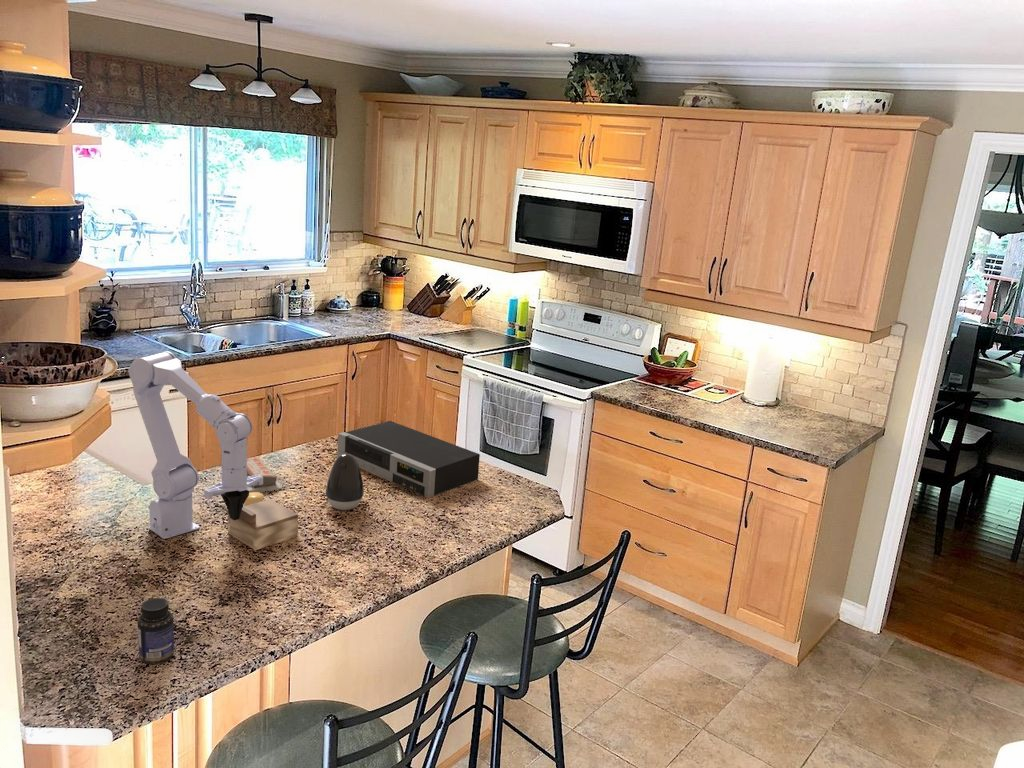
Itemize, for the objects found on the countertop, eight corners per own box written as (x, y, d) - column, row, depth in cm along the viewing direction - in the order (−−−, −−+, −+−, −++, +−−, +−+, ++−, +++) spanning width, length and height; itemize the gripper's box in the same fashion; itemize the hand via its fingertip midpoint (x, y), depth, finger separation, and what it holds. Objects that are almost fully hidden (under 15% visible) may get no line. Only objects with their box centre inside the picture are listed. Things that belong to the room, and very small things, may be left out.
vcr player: (478, 480, 255) (480, 454, 252) (420, 502, 236) (421, 473, 234) (388, 445, 278) (389, 420, 276) (329, 461, 259) (329, 435, 257)
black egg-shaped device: (321, 513, 223) (323, 460, 218) (328, 497, 233) (330, 446, 228) (360, 515, 223) (362, 462, 219) (365, 500, 233) (367, 449, 229)
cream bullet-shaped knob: (250, 519, 216) (250, 501, 214) (240, 512, 219) (240, 495, 217) (267, 514, 219) (267, 496, 218) (256, 508, 222) (256, 490, 221)
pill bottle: (181, 651, 159) (180, 600, 156) (158, 669, 153) (156, 616, 150) (155, 643, 161) (153, 592, 158) (131, 660, 155) (129, 607, 152)
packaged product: (230, 457, 243) (264, 453, 249) (230, 473, 245) (264, 468, 250) (247, 480, 229) (283, 475, 234) (247, 496, 230) (283, 491, 235)
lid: (255, 530, 198) (255, 518, 198) (228, 514, 206) (228, 502, 205) (298, 517, 207) (298, 505, 206) (270, 501, 215) (270, 490, 214)
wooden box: (255, 550, 200) (255, 531, 198) (228, 532, 207) (228, 514, 206) (297, 536, 209) (297, 517, 207) (270, 519, 216) (270, 502, 215)
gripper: (215, 477, 189) (215, 532, 192) (270, 463, 200) (270, 515, 203) (198, 468, 193) (199, 522, 197) (253, 455, 204) (253, 506, 208)
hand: (234, 518), depth 200 cm, fingers closed
